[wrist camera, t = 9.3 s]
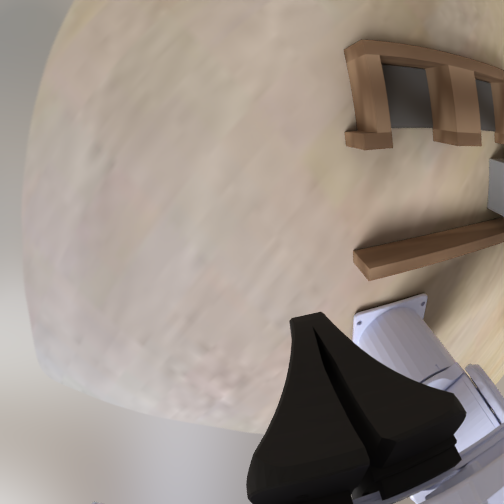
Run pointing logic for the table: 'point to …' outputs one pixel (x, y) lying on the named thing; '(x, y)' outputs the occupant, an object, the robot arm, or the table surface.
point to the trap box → (423, 116)
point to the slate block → (496, 186)
